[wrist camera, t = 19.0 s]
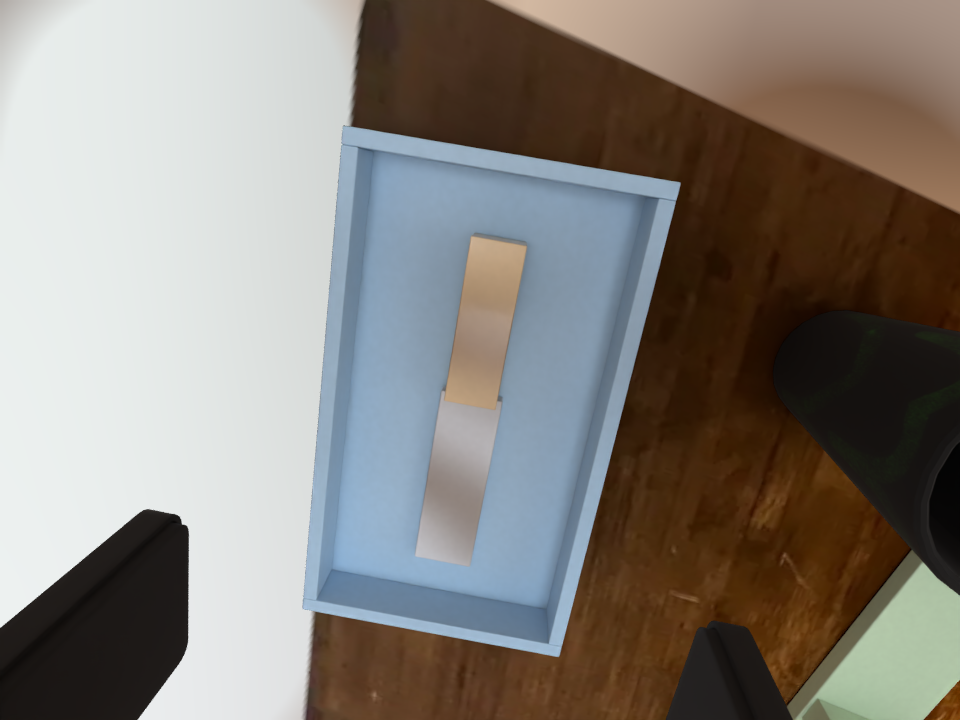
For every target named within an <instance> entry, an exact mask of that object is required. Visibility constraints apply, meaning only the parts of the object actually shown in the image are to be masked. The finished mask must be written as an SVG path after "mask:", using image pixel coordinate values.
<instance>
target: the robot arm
mask: <svg viewBox="0 0 960 720" xmlns="http://www.w3.org/2000/svg"><path fill="white" fill-rule="evenodd" d="M188 557H189V531H188V528H187V526H186V525H182V523H181V519H180V517H179V516H178V515H175V514H169V513H164V512H159V511H155V510H149V509H147V510H143V511H142V512H140V513H139V514H137V515H136V516H135V517H134V518H133V519H131V520H130V521H129V522H128V523H126V524H125V525H124V526H123V527H122V528H121V529H119V530H118V531H117V532H116V533H114V534H113V535H112V536H111V537H110V538H108V539H107V540H106V541H105V542H104V543H102V544H101V545H100V546H99V547H98V548H96V549H95V550H94V551H93V552H91V553H90V554H89V555H88V556H87V557H85V558H84V559H83V560H82V561H81V562H79V564H77V565H76V566H75V567H73V568H72V569H71V570H70V571H69V572H67V573H66V574H65V575H64V576H63V577H61V578H60V579H59V580H58V581H57V582H55V583H54V584H53V585H52V586H50V587H49V588H48V589H47V590H46V591H44V592H43V593H42V594H41V595H40V596H38V597H37V598H36V599H35V600H34V601H32V602H31V603H30V604H29V605H28V606H26V607H25V608H24V609H23V610H21V611H20V612H19V613H18V614H17V615H15V616H14V617H13V618H12V619H11V620H10V621H8V622H7V623H6V624H5V625H3V626H2V627H1V628H0V720H137V719H138V718H139V717H140V716H141V714H142V713H143V712H144V710H145V709H146V708H147V706H148V705H149V703H150V702H151V701H152V699H153V698H154V697H155V695H156V694H157V693H158V691H159V690H160V689H161V687H162V686H163V685H164V683H165V682H166V680H167V679H168V678H169V677H170V675H171V674H172V672H173V671H174V670H175V668H176V667H177V666H178V664H179V663H180V661H181V660H182V658H183V656H184V654H185V651H186V648H187V644H188V565H189V564H188V563H189V558H188ZM666 720H793V719H792V716H791V714H790V712H789V710H788V708H787V706H786V704H785V702H784V700H783V698H782V696H781V694H780V692H779V690H778V688H777V686H776V684H775V682H774V680H773V678H772V676H771V673H770V671H769V669H768V667H767V665H766V663H765V661H764V659H763V657H762V655H761V653H760V651H759V649H758V647H757V645H756V643H755V641H754V639H753V637H752V635H751V633H750V631H749V630H748V629H747V628H746V627H743V626H738V625H733V624H728V623H723V622H718V621H711V622H710V623H709V624H708V626H707V628H703V627H700V628H699V629H698V630H697V632H696V635H695V637H694V640H693V643H692V646H691V649H690V652H689V655H688V658H687V660H686V663H685V666H684V669H683V672H682V675H681V678H680V681H679V683H678V686H677V689H676V692H675V695H674V698H673V701H672V704H671V706H670V709H669V712H668V715H667V718H666Z"/></svg>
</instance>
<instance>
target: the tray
mask: <svg viewBox="0 0 960 720" xmlns="http://www.w3.org/2000/svg"><path fill="white" fill-rule="evenodd" d="M342 144H343V145H342V146H341V156H340V157H341V158H340V168H339V180H338V193H337V205H336V215H335V227H334V240H333V251H332V263H331V276H330V287H329V300H328V311H327V323H326V334H325V346H324V358H323V371H322V383H321V394H320V406H319V419H318V430H317V442H316V453H315V466H314V478H313V489H312V501H311V513H310V525H309V537H308V548H307V560H306V572H305V585H304V596H303V597H304V598H303V609H305V610H311V611H316V612H321V613H327V614H332V615H337V616H343V617H348V618H353V619H359V620H364V621H369V622H375V623H380V624H385V625H391V626H396V627H401V628H407V629H412V630H417V631H423V632H428V633H433V634H439V635H444V636H449V637H455V638H460V639H465V640H471V641H476V642H481V643H487V644H492V645H497V646H503V647H508V648H513V649H519V650H524V651H529V652H535V653H540V654H545V655H551V656H556V657H559V655H560V651H561V647H562V644H563V640H564V636H565V632H566V628H567V624H568V620H569V616H570V612H571V609H572V605H573V601H574V597H575V593H576V589H577V585H578V581H579V577H580V573H581V570H582V566H583V562H584V558H585V554H586V550H587V546H588V542H589V538H590V535H591V531H592V527H593V523H594V519H595V515H596V511H597V507H598V503H599V499H600V496H601V492H602V488H603V484H604V480H605V476H606V472H607V468H608V464H609V461H610V457H611V453H612V449H613V445H614V441H615V437H616V433H617V429H618V425H619V422H620V418H621V414H622V410H623V406H624V402H625V398H626V394H627V390H628V387H629V383H630V379H631V375H632V371H633V367H634V363H635V359H636V355H637V351H638V348H639V344H640V340H641V336H642V332H643V328H644V324H645V320H646V316H647V313H648V309H649V305H650V301H651V297H652V293H653V289H654V285H655V281H656V277H657V274H658V270H659V266H660V262H661V258H662V254H663V250H664V246H665V242H666V239H667V235H668V231H669V227H670V223H671V219H672V215H673V211H674V207H675V203H676V200H677V196H678V192H679V188H680V184H681V183H680V182H674V181H668V180H663V179H657V178H651V177H645V176H639V175H633V174H627V173H621V172H615V171H609V170H604V169H598V168H592V167H586V166H580V165H574V164H568V163H562V162H556V161H550V160H545V159H539V158H533V157H527V156H521V155H515V154H509V153H503V152H497V151H491V150H486V149H480V148H474V147H468V146H462V145H456V144H450V143H444V142H438V141H432V140H427V139H421V138H415V137H409V136H403V135H397V134H391V133H385V132H379V131H374V130H368V129H362V128H356V127H350V126H343V132H342ZM474 233H481V234H486V235H492V236H497V237H503V238H508V239H514V240H519V241H525V242H527V251H526V256H525V261H524V266H523V272H522V277H521V282H520V287H519V292H518V297H517V302H516V308H515V313H514V318H513V323H512V328H511V333H510V338H509V344H508V349H507V354H506V359H505V364H504V369H503V374H502V380H501V385H500V390H499V395H498V396H499V397H503V403H502V408H501V413H500V418H499V423H498V429H497V434H496V439H495V444H494V449H493V454H492V459H491V464H490V469H489V474H488V479H487V484H486V489H485V494H484V499H483V504H482V509H481V514H480V520H479V525H478V530H477V535H476V540H475V545H474V550H473V555H472V560H471V565H470V567H467V566H462V565H457V564H452V563H447V562H441V561H436V560H431V559H426V558H421V557H416V556H415V549H416V543H417V537H418V531H419V524H420V518H421V512H422V506H423V500H424V493H425V487H426V481H427V475H428V469H429V462H430V456H431V450H432V444H433V438H434V432H435V425H436V419H437V413H438V407H439V401H440V394H441V390H442V388H443V386H446V384H447V378H448V372H449V366H450V360H451V354H452V348H453V342H454V335H455V329H456V323H457V317H458V311H459V305H460V299H461V293H462V287H463V281H464V275H465V268H466V262H467V256H468V250H469V244H470V238H471V236H472V235H473V234H474Z"/></svg>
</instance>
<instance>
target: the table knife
mask: <svg viewBox="0 0 960 720" xmlns="http://www.w3.org/2000/svg"><path fill="white" fill-rule="evenodd" d="M526 251H527V242H525V241H519V240H514V239H508V238H503V237H497V236H492V235H486V234H481V233H474V234H473V235H472V236H471V238H470V244H469V250H468V256H467V262H466V268H465V275H464V281H463V287H462V293H461V299H460V305H459V311H458V317H457V323H456V329H455V335H454V342H453V348H452V354H451V360H450V366H449V372H448V378H447V384H446V386H443V388H442V390H441V394H440V401H439V407H438V413H437V419H436V425H435V432H434V438H433V444H432V450H431V456H430V462H429V469H428V475H427V481H426V487H425V493H424V500H423V506H422V512H421V518H420V524H419V531H418V537H417V543H416V549H415V556H416V557H421V558H426V559H431V560H436V561H441V562H447V563H452V564H457V565H462V566H467V567H470V565H471V560H472V555H473V550H474V545H475V540H476V535H477V530H478V525H479V520H480V514H481V509H482V504H483V499H484V494H485V489H486V484H487V479H488V474H489V469H490V464H491V459H492V454H493V449H494V444H495V439H496V434H497V429H498V423H499V418H500V413H501V408H502V403H503V397H499V396H498V395H499V390H500V385H501V380H502V374H503V369H504V364H505V359H506V354H507V349H508V344H509V338H510V333H511V328H512V323H513V318H514V313H515V308H516V302H517V297H518V292H519V287H520V282H521V277H522V272H523V266H524V261H525V256H526Z"/></svg>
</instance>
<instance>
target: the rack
mask: <svg viewBox="0 0 960 720" xmlns="http://www.w3.org/2000/svg"><path fill="white" fill-rule="evenodd" d="M959 680H960V595H958V594H957V593H956V592H954V591H953V590H952V589H950V588H949V587H948V586H947V585H945V584H944V583H943V582H941V581H940V580H939V579H938V578H937V577H936V576H935V575H934V574H933V573H932V572H931V571H930V569H929V568H928V567H927V566H926V565H925V564H924V563H923V562H922V560H921V559H920V558H919V557H918V556H917V555H916V554H915V552H914V551H913V550H911V551H910V552H909V554H908V555H907V556H906V558H905V559H904V560H903V561H902V563H901V564H900V565H899V566H898V568H897V569H896V570H895V571H894V573H893V574H892V575H891V576H890V578H889V579H888V580H887V581H886V583H885V584H884V585H883V586H882V588H881V589H880V590H879V591H878V593H877V594H876V595H875V596H874V598H873V599H872V600H871V601H870V603H869V604H868V605H867V606H866V608H865V609H864V610H863V612H862V613H861V614H860V615H859V617H858V618H857V619H856V620H855V622H854V623H853V624H852V625H851V627H850V628H849V629H848V630H847V632H846V633H845V634H844V635H843V637H842V638H841V639H840V640H839V642H838V643H837V644H836V645H835V647H834V648H833V649H832V650H831V652H830V653H829V654H828V655H827V657H826V658H825V659H824V660H823V662H822V663H821V664H820V666H819V667H818V668H817V669H816V671H815V672H814V673H813V674H812V676H811V677H810V678H809V679H808V681H807V682H806V683H805V684H804V686H803V687H802V688H801V689H800V691H799V692H798V693H797V694H796V696H795V697H794V698H793V699H792V701H791V702H790V703H789V704H788V706H787V708H788V710H789V712H790V714H791V716H792V719H793V720H923V719H924V718H925V717H926V716H927V715H928V714H929V713H930V712H931V711H932V709H933V708H934V707H935V706H936V705H937V704H938V703H939V702H940V701H941V700H942V698H943V697H944V696H945V695H946V694H947V693H948V692H949V691H950V690H951V689H952V687H953V686H954V685H955V684H956V683H957V682H958V681H959Z"/></svg>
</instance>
